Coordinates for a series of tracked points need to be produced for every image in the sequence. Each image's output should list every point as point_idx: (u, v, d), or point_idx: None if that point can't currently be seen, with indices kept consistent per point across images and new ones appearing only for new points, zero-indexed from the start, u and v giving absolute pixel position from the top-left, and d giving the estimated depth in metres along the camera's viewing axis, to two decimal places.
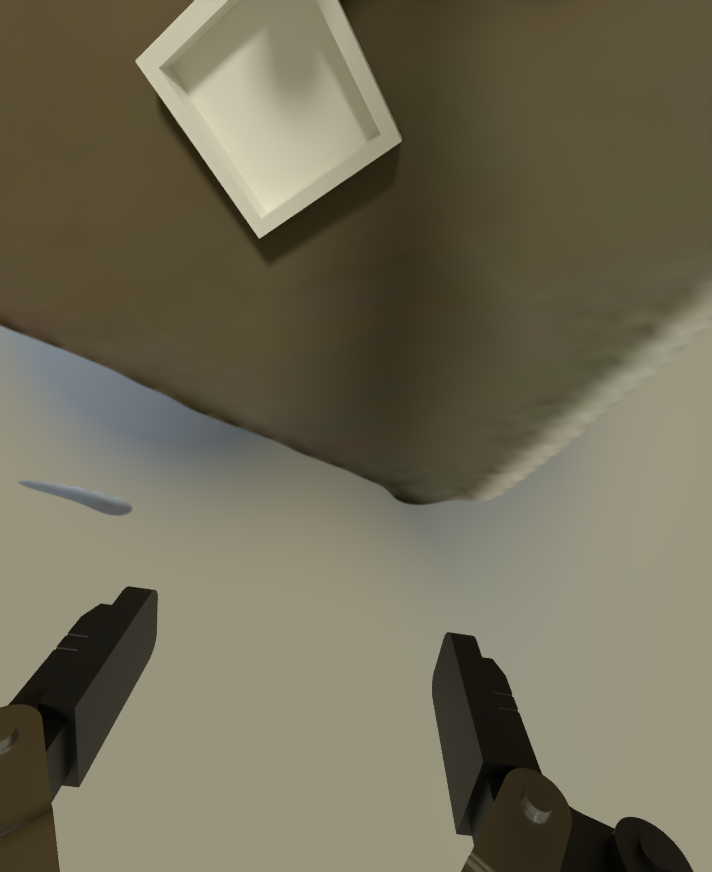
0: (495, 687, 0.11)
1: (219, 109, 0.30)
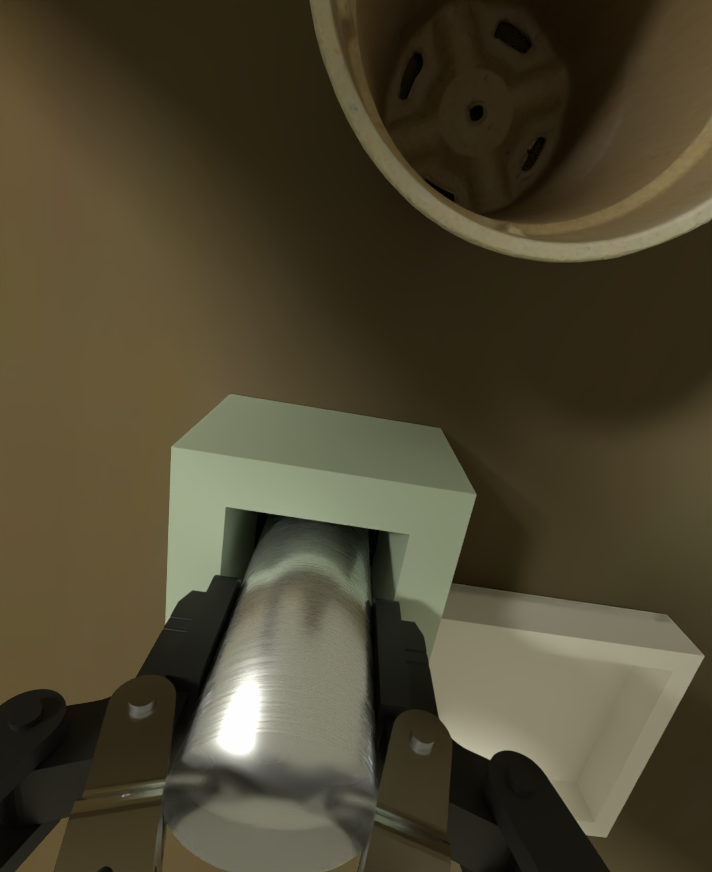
0: (411, 646, 0.12)
1: None
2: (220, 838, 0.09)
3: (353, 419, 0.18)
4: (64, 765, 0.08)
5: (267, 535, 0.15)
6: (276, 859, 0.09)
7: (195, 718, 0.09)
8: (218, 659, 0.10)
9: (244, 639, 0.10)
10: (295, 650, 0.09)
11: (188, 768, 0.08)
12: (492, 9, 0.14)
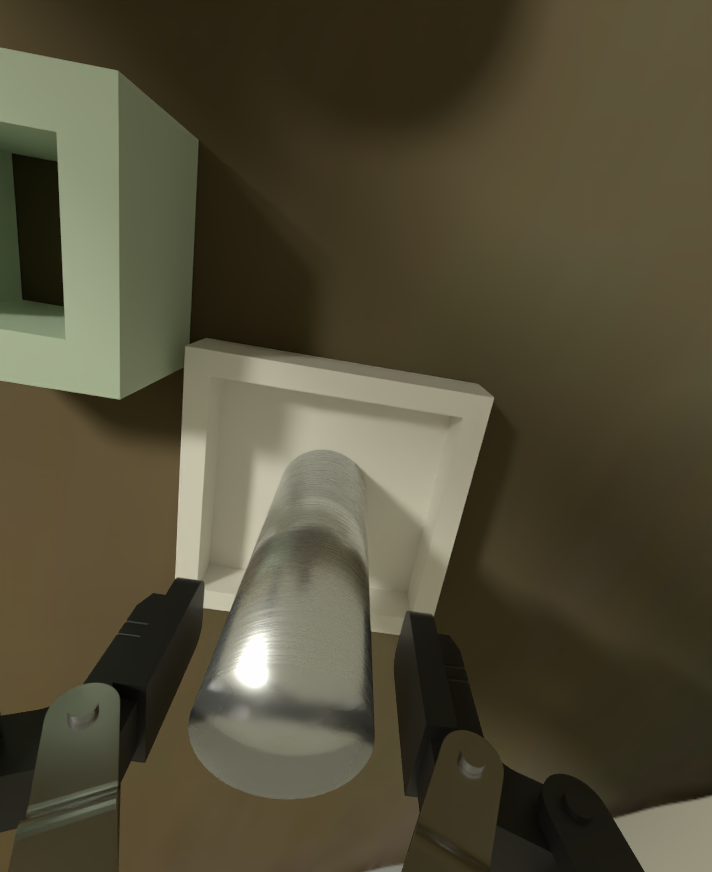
0: (448, 661, 0.12)
1: None
2: (237, 761, 0.10)
3: None
4: (4, 770, 0.08)
5: (274, 512, 0.16)
6: (286, 780, 0.10)
7: (216, 658, 0.10)
8: (233, 613, 0.11)
9: (256, 596, 0.11)
10: (302, 602, 0.11)
11: (211, 696, 0.09)
12: None
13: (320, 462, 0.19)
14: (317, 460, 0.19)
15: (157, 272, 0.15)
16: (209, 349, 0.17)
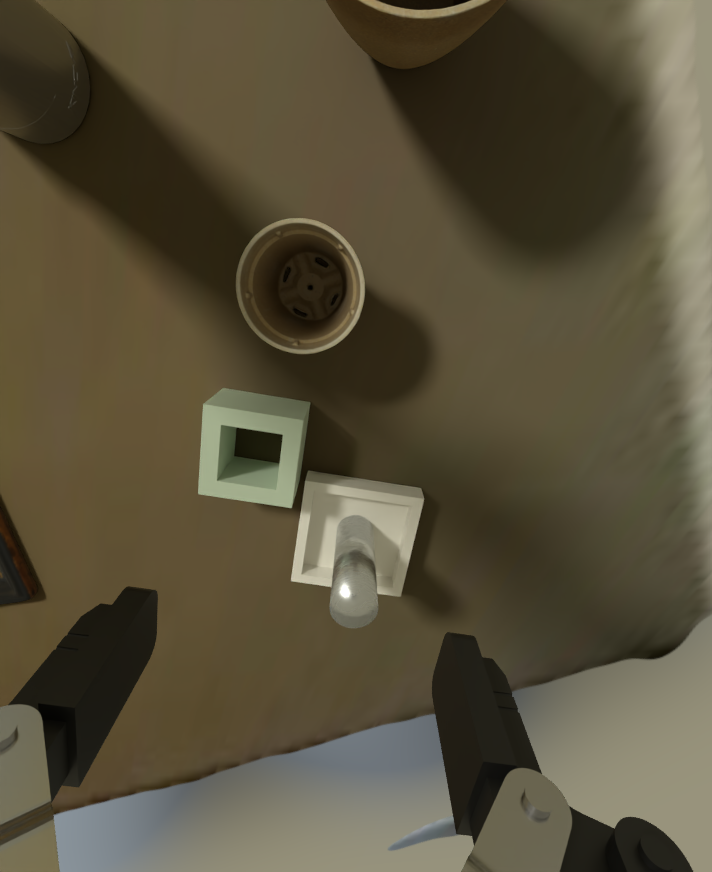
0: (495, 687, 0.11)
1: None
2: (341, 616, 0.37)
3: (272, 398, 0.44)
4: None
5: (340, 545, 0.43)
6: (354, 622, 0.38)
7: (335, 589, 0.38)
8: (336, 578, 0.39)
9: (343, 572, 0.39)
10: (357, 574, 0.38)
11: (336, 597, 0.37)
12: (313, 254, 0.40)
13: (355, 522, 0.46)
14: (354, 521, 0.47)
15: (300, 459, 0.43)
16: (314, 481, 0.45)
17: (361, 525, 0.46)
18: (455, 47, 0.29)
